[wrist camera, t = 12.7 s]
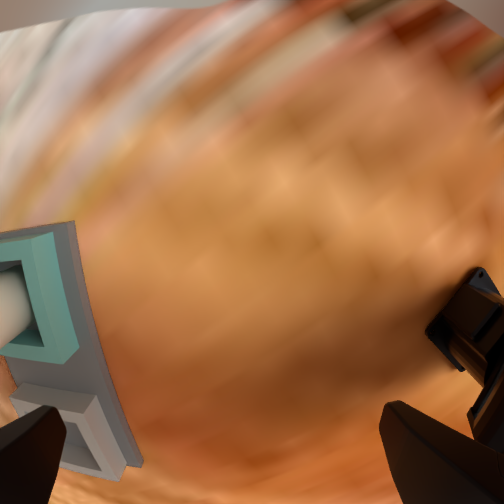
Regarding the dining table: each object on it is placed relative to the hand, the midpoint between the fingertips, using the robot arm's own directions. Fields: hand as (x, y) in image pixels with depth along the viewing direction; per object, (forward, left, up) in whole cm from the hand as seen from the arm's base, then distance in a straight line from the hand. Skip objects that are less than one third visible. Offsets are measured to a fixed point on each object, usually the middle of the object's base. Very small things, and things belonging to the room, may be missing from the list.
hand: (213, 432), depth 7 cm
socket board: (+7, +16, -13) cm, 21 cm away
